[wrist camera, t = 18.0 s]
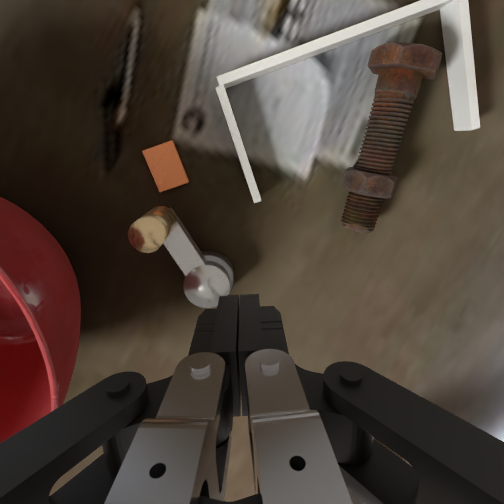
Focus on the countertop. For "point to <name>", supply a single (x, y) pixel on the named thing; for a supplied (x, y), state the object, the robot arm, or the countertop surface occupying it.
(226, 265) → the small flat pieces
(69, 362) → the mixing bowl
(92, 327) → the countertop surface
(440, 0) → the corral
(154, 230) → the crank
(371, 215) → the bolt
